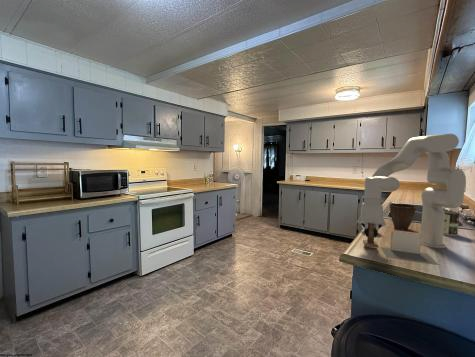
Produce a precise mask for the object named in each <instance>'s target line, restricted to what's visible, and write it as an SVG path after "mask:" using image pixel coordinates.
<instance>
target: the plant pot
mask: <svg viewBox="0 0 475 357" xmlns="http://www.w3.org/2000/svg"><path fill="white" fill-rule="evenodd" d="M416 210H417V206H415V205H411V204H408V203H396V202H395V203H389V212H390V218H391V222H392V225H393V227H394V228H395V229H396V228H398V229H397V230H400V229H408V230H409V229H410V226H411V224H412V222H413V219H414V217H415V213H416Z"/></svg>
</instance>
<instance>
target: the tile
mask: <svg viewBox="0 0 475 357" xmlns="http://www.w3.org/2000/svg"><path fill="white" fill-rule="evenodd" d="M420 233H421V232H413V231H405V230H394V229H391V233H390V235H391V236H390V246H389V248H390V250H393V251H400V252H407V253H415V254H420V253H421V244H420V243H421V234H420Z"/></svg>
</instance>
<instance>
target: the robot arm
mask: <svg viewBox="0 0 475 357" xmlns="http://www.w3.org/2000/svg"><path fill="white" fill-rule="evenodd" d="M459 143H460V140H459V137H458V136H457V134H455V133H443V134H440V133H439V134H431V135H430V134H429V135H424V136H415V137H411V138H409V139H408V140H407V141H406V142H405V143H404V144H403V146H402V147H401V149H400V150H399V151H398V153H397V154H396V155H395V156H394V158H392V159H390V160H388V161H387V162H386V163H384V164H382V165H380V166H379V167H378V168H377V169H376V170H375V171H374V173H373V174H372V176H368V177H366V178H365V179H364V194H363V195H364V196H363V198H364V199H363V202H362V203H361V207H360V214H359V215H360V216H359V217H358V219H357V221H356V223H357V224H359V225H360V226H361V225H362V226H363V227H364V228H365V231H364V235H365V237H368V223H371V224H375V229H374V239H375V238H377V237H378V233H379V232H378V231H379V230H380V229H381V228H382V227H386V226H387V222H386V221H385V219H384V206H383V204H382V203H385V199H383V198H382V193H383V192H388V193H389V192H390V193H392V192H393V193H394V192H395V191H397V190H398V189H399V188H400V185H401V183H400V181H399V180H398V178H396V177H395V176H394V177H392V176H391V175H392V174H394V173H398V172H401V171H404V170H407V169H410V168H411V167H412V166H413V164H414V163H415V161H416V160H417V159H418V158H419V157H420V156H421V154H426V156H427V157H428V166H427V175H426V179H427V180H426V181H427V182H428V183H429V185H433V187H431V186H429V187H426V188H424V189H423V190H422V191H421V196H420V198H421V202H422V211H421V213H422V214H421V222H420V232H419V233H420V234H421V243H420V246H421V245H422V246H426V247H428V248H435V249H444V248H445V249H446V247H447V245H446V244H445V243H444V242H443V238H444V234H443V229H444V218H445V213H444V210H445V209H443V208H447V209H458V208H460V207H461V206H462V204H463V202H464V198H465V197H464V196H465V192H466V190H465V189H466V184H467V183H466V180H467V176H466V174H465V172H464V171H463V170H462V169H460V168H454V167H450V156H449V154H448V153H447V152H451V151H453V150H455V149H456V148H457V147H458V146H459ZM434 186H440V187H441V188H440V187H434ZM443 187H446V188H443ZM362 222H363V223H362ZM378 224H379V225H378ZM362 226H361V227H362Z"/></svg>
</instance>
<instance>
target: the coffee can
mask: <svg viewBox="0 0 475 357" xmlns="http://www.w3.org/2000/svg"><path fill="white" fill-rule="evenodd" d="M443 210H444V213H445V218H444V229H443V236H444V235H446V236H450V237H451V236H453V237H457V236H458V233H459V232H458V230H459V224H460V223H459V221H460V214H461V213H460V212H458V211H452V210H445V209H443Z"/></svg>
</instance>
